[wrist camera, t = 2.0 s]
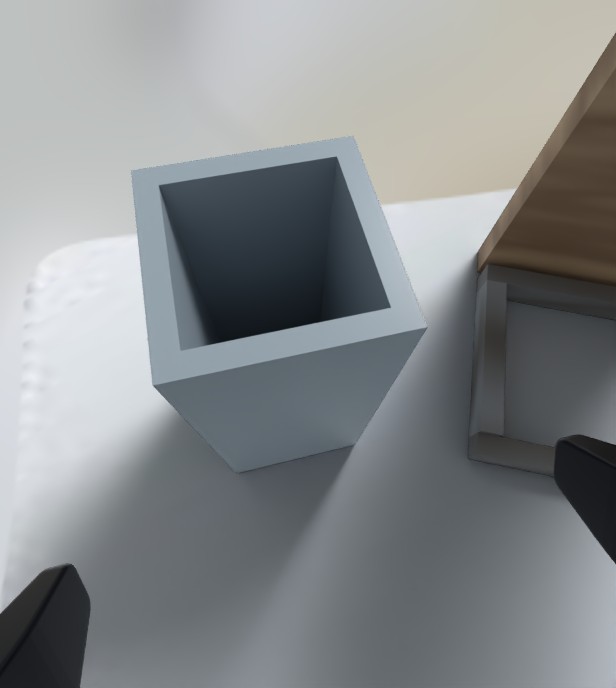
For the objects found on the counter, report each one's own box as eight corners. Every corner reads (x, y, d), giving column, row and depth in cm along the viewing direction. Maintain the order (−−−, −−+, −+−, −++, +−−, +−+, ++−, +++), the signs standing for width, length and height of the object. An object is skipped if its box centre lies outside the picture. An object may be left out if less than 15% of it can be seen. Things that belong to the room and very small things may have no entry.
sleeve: (354, 444, 20) (427, 327, 9) (236, 473, 20) (152, 385, 8) (325, 338, 23) (353, 135, 11) (217, 361, 22) (131, 170, 11)
